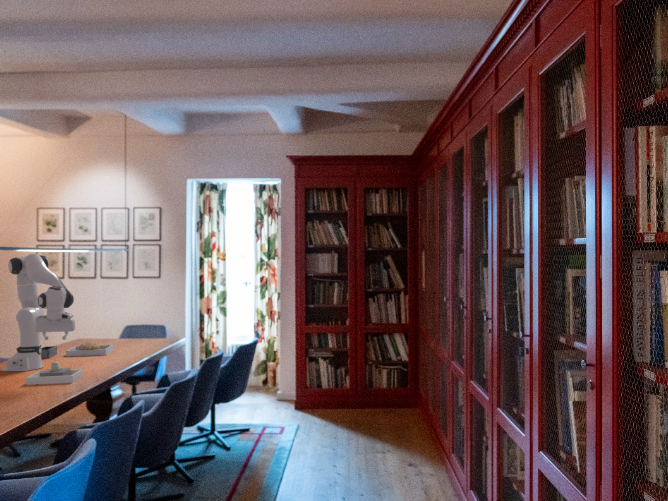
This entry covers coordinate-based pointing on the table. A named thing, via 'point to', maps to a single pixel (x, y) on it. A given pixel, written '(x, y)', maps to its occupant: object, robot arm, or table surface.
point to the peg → (54, 366)
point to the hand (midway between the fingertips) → (55, 339)
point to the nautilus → (89, 346)
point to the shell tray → (89, 351)
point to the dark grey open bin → (48, 352)
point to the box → (54, 376)
